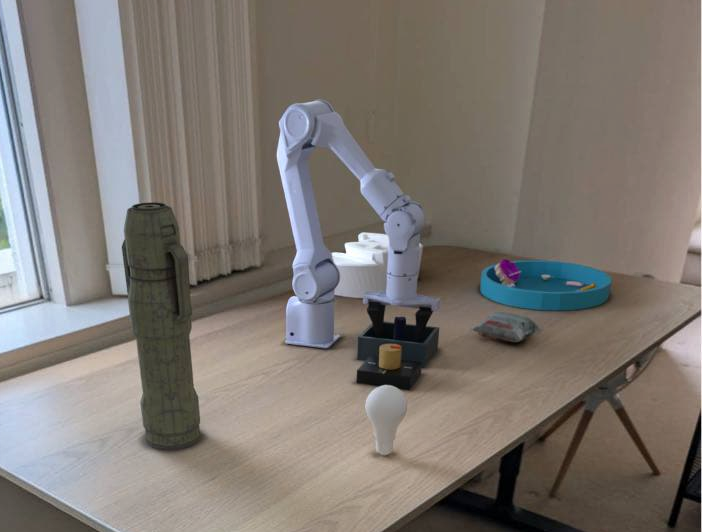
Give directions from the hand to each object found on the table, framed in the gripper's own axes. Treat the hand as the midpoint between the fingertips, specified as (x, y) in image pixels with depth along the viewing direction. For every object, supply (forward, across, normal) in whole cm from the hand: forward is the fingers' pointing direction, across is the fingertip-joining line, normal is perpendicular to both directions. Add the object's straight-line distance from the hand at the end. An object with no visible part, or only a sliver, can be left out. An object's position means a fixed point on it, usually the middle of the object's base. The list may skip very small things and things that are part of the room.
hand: (398, 342), depth 158 cm
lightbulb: (+3, +10, -43) cm, 44 cm away
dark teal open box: (+2, 0, 0) cm, 2 cm away
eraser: (+2, 0, 0) cm, 2 cm away
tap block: (+2, +2, -13) cm, 13 cm away
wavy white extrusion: (+3, -20, +47) cm, 51 cm away
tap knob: (0, +2, -13) cm, 13 cm away
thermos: (+3, -23, -49) cm, 54 cm away
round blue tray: (+3, +21, +54) cm, 58 cm away
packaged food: (+3, +18, +16) cm, 24 cm away
